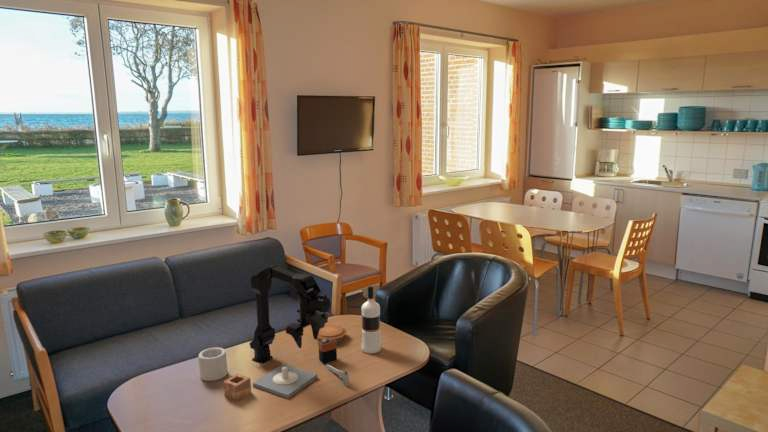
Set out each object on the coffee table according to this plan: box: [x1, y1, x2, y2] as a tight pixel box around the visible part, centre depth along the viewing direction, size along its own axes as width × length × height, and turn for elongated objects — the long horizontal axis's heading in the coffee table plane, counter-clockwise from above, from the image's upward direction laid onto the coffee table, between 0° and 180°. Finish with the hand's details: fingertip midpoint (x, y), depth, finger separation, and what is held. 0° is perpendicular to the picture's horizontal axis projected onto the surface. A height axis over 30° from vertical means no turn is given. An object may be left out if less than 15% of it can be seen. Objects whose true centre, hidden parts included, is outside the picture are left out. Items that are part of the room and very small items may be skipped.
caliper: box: [324, 363, 350, 388], centre depth 213 cm, size 20×1×6 cm, turn 31°
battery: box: [318, 338, 338, 365], centre depth 225 cm, size 4×7×10 cm, turn 120°
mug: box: [197, 346, 228, 382], centre depth 215 cm, size 14×11×10 cm
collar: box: [223, 373, 252, 401], centre depth 200 cm, size 7×7×6 cm
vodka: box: [360, 286, 383, 355], centre depth 233 cm, size 9×9×30 cm
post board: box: [252, 363, 318, 399], centre depth 208 cm, size 18×18×6 cm
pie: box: [316, 324, 347, 344], centre depth 247 cm, size 16×16×5 cm
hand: (307, 343), depth 211 cm, fingers open, 9 cm apart
